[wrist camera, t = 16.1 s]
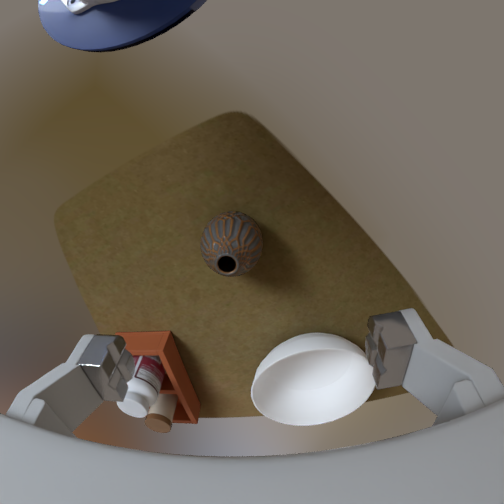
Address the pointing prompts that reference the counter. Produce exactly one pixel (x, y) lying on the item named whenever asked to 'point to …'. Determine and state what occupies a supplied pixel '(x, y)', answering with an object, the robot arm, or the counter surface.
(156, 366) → the pill bottle
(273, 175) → the counter surface
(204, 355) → the counter surface
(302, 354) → the bowl
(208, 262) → the vase
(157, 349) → the divided tray
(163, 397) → the spice jar
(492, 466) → the robot arm
